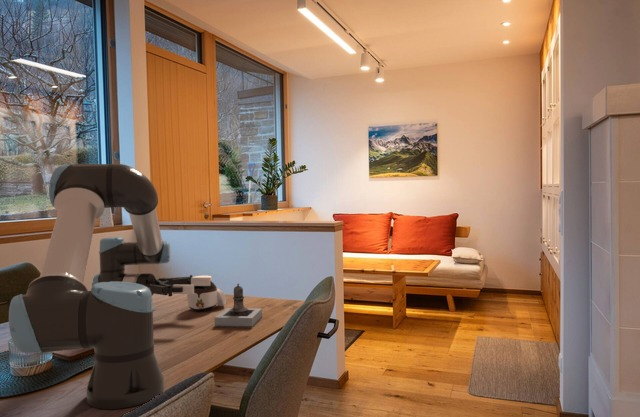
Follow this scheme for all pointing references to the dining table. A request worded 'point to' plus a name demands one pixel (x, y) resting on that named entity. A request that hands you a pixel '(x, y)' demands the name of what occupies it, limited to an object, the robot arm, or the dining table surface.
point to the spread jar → (205, 297)
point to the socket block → (238, 318)
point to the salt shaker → (238, 303)
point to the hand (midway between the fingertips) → (202, 285)
